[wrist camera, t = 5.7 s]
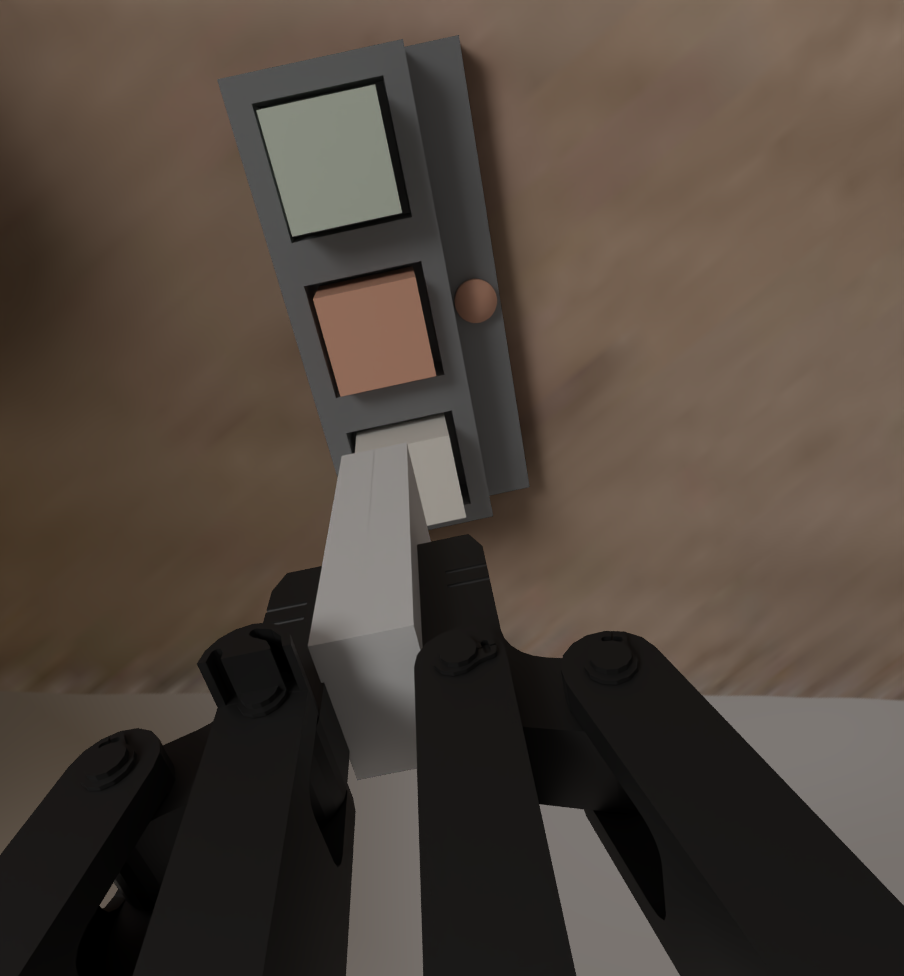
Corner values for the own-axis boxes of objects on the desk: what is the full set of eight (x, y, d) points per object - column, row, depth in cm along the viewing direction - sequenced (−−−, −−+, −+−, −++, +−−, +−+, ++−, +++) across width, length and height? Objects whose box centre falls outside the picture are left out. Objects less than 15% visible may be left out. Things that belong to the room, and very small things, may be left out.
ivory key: (443, 412, 33) (449, 435, 31) (459, 489, 35) (466, 517, 33) (356, 431, 33) (354, 455, 31) (377, 507, 35) (377, 536, 33)
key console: (455, 40, 29) (464, 25, 26) (524, 475, 38) (537, 506, 35) (236, 88, 29) (217, 79, 26) (360, 510, 39) (358, 545, 35)
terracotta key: (412, 266, 31) (415, 276, 28) (431, 358, 33) (436, 376, 30) (318, 286, 31) (312, 299, 28) (344, 376, 33) (340, 396, 30)
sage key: (376, 91, 27) (374, 84, 24) (400, 207, 29) (402, 212, 26) (268, 114, 27) (256, 110, 24) (300, 228, 29) (292, 236, 26)
